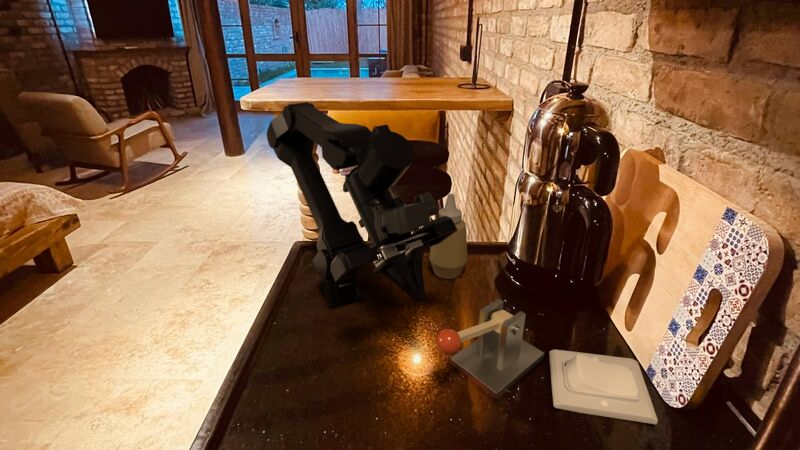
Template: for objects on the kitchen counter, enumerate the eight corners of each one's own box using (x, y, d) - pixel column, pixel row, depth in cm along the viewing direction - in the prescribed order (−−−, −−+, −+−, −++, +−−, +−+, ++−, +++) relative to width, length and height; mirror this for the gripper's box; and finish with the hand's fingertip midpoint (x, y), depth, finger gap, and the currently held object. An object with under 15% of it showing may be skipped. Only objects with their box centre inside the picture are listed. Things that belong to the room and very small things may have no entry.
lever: (446, 362, 51) (452, 340, 50) (428, 348, 53) (433, 327, 52) (513, 334, 61) (518, 315, 60) (495, 323, 63) (501, 305, 62)
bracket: (495, 399, 58) (502, 347, 53) (449, 364, 64) (452, 314, 60) (543, 359, 65) (552, 309, 60) (497, 330, 71) (503, 283, 66)
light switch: (550, 336, 64) (641, 346, 61) (548, 356, 66) (636, 367, 63) (555, 390, 55) (663, 406, 52) (553, 412, 57) (656, 428, 53)
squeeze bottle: (469, 282, 84) (474, 202, 76) (429, 283, 84) (431, 203, 76) (464, 262, 91) (468, 187, 83) (427, 262, 91) (429, 187, 83)
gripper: (331, 193, 48) (386, 317, 44) (451, 163, 57) (504, 263, 54) (311, 229, 57) (355, 333, 54) (417, 198, 66) (460, 285, 63)
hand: (421, 302), depth 56 cm, fingers closed
